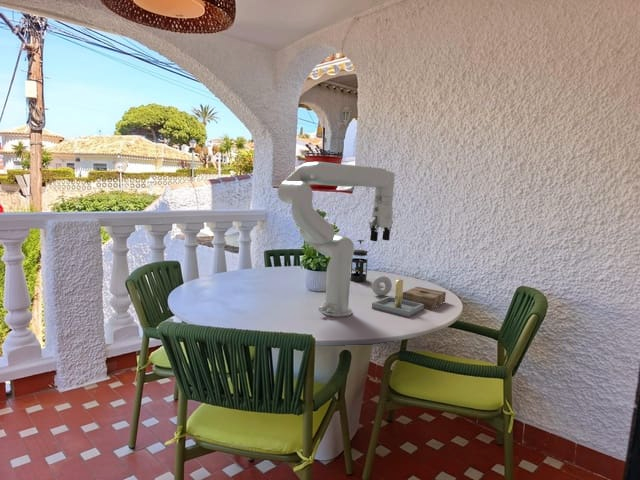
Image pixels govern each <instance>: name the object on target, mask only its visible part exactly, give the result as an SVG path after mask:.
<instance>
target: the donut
mask: <svg viewBox="0 0 640 480" xmlns="http://www.w3.org/2000/svg"><path fill="white" fill-rule="evenodd" d="M381 283H383V284H384V287H382V288H380V286H379V285H380V284H381ZM392 287H393V284H392V281H391V279H390V278H389V276H386V275H379V276H376V277H375V278H374V279H373V281H372V282H371V290H372V292H373V293H374V294H375V295H376V296H379V297H382V296H383V297H384V296H386V295H388V294H389V293H390V292H391V291H392Z"/></svg>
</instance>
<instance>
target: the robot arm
mask: <svg viewBox="0 0 640 480" xmlns="http://www.w3.org/2000/svg"><path fill="white" fill-rule="evenodd" d="M311 185H320V186H335V187H336V186H337V187H364V188H375V191H374V204H373V208H372V215H371V219H370V220H369V223H368V224H369V229H370V230H369V231H370V238H369V241H371V242H378V237H379V229H380V228H382V229H383V231H382V240H383V241H387V242H388V241H390V237H391V231H392V227H393V223H394V221H393V218H394V214H393V213H394V211H393V209H394V208H393V207H394V206H393V199H394V188H395V187H394V186H395V173H394V172H393V171H391V170H390V171H389V170H386V169H385V168H381V167H372V166H361V165H354V164H344V163H334V162H326V161H309V162H305V163H303V164H300V166H299V167H297V168H296V169H295V170H294V171H293V172H292V173H291V174H290V175H289V176H288V177H286V178H285V179H284V180H283V181H282V182H281V183H280V185H279V186H278V188H277V196H278V198H279V200H280V201H281V202H283V203H285V204H291V213H292V219H293V221H294V222H295V224H296V225H297V226H298V227H299V234H300V236H301V238H302V240H303V241H305V242H306V243H307V244H308V245H310V246H311V247H312V248H313V249H314V250H316V251H317V252H318V253H319V254H321V255H323V256H326V257H329V258H330V259H329V262H328V263H327V266H326V283H325V301H324V303H323V305H322V306H319V307H318V312H319V313H321V314H323V315H325V316H328V317H334V318H335V317H336V318H344V317H348V316H350V315H352V313H353V309H352V308H350V307H349V305H350V304H349V303H350V302H349V301H350V288H351V287H350V285H351V281H350V277H351V262H352V259H353V258H354V257H353V256H354V255H353V253H354V250H355V244H354V242H353V240H352V239H351V238H350V237H347V236H346V235H341V234H336V233H335V228H334V226H333V225H331V223H330V222H328V221H327V219H325V218H324V217H323V216H321V214H319V213H318V212H317V211H316V210H315V209H314V206H313V197H314V196H313V195H314V193H313V189H312V187H311ZM352 263H353V262H352Z"/></svg>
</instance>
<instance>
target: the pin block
mask: <svg viewBox="0 0 640 480" xmlns="http://www.w3.org/2000/svg"><path fill="white" fill-rule="evenodd" d="M446 292H447V291H442V290H437V289H433V288H432V289H431V288H428V287H427V288H426V287H421V286H414V288H413V287H412V288H410V289H407V290H405V291H402V299H403V300H407V301H412V302H416V303H421V304H424V309H425V308H428V309H427V310H430V309H432V310H434V309H435V308H434V307H436V306H438V305H440V304H441V303H443V302H445V303H446V295H447V293H446ZM443 304H444V303H443ZM441 305H442V304H441ZM441 305H440V306H441ZM438 307H439V306H438ZM433 308H434V309H433ZM436 308H437V307H436Z"/></svg>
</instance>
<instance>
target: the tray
mask: <svg viewBox="0 0 640 480" xmlns="http://www.w3.org/2000/svg"><path fill="white" fill-rule="evenodd" d="M394 304H395V296H394V297H393V296H387V297H384V298H381V299H379V300H378V299H377V300H376V301H373V302H372V303H371V309H372V310H376V311H380V312H385V313H388V314H392V315H396V316H400V317H404V318H408V319H409V318H410V317H412V316H413V317H414V316H415V315H417V314H419V313H420V312H422V311H424V310H425V308H424V304H421V303H416V302H412V301H407V300H403V299H402V306H401V308H395V307H394Z"/></svg>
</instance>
